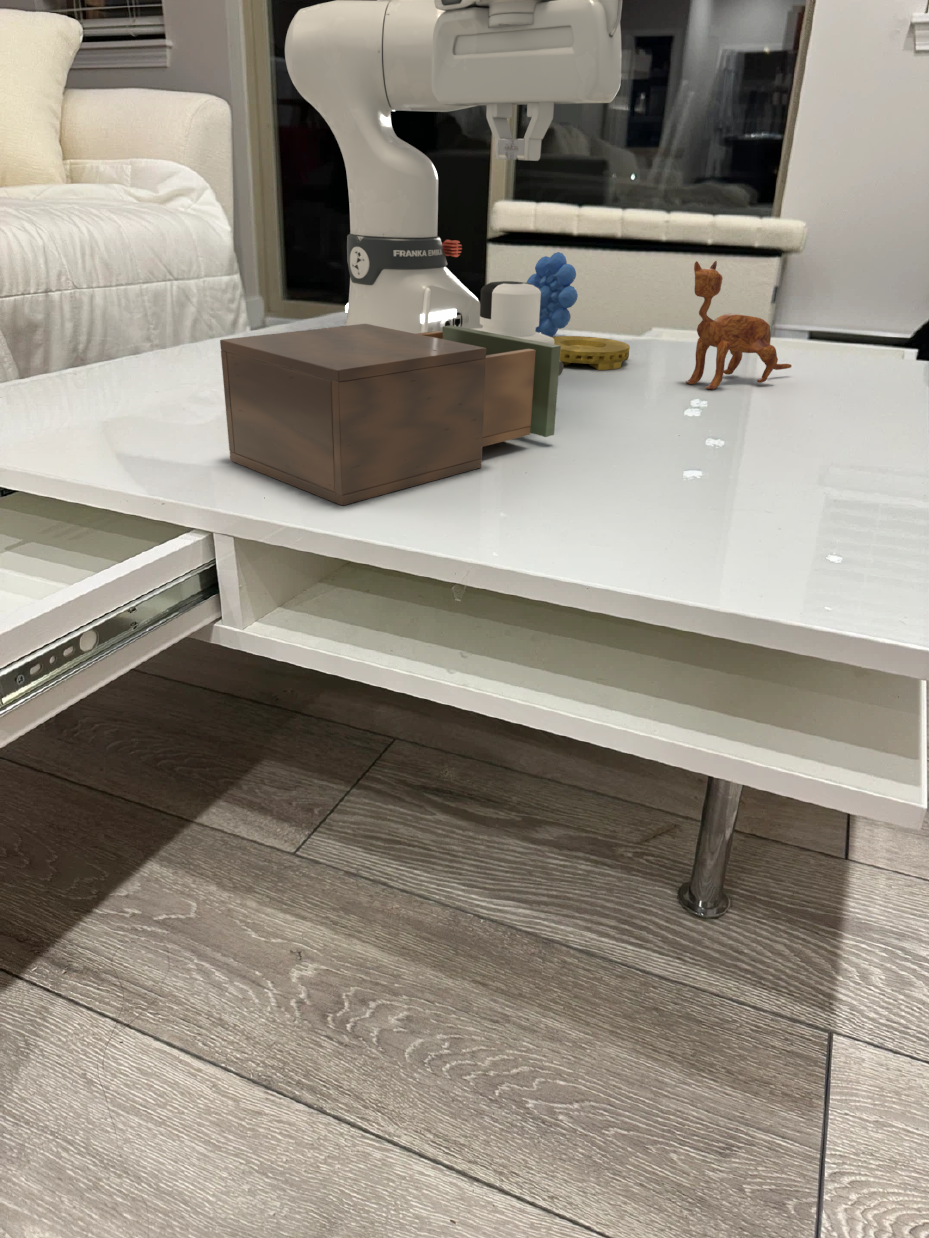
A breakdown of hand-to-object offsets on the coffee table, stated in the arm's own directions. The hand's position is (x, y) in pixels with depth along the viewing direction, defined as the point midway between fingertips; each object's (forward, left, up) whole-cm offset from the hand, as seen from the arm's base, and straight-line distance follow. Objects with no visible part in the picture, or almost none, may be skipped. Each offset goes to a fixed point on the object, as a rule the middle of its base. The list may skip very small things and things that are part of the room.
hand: (516, 160), depth 85 cm
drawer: (+13, +7, -22) cm, 27 cm away
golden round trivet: (-26, -10, -23) cm, 36 cm away
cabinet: (+26, +7, -23) cm, 35 cm away
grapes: (-37, -24, -23) cm, 50 cm away
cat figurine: (-31, +10, -23) cm, 40 cm away
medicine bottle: (0, 0, -23) cm, 23 cm away
